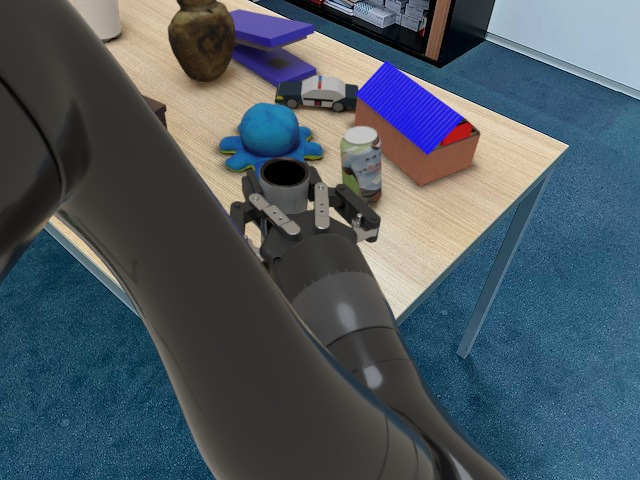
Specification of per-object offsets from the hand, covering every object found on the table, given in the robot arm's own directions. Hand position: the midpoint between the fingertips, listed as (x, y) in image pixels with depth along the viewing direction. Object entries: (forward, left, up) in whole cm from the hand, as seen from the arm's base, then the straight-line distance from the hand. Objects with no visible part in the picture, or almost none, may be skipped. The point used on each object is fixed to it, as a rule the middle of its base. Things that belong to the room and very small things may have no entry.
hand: (276, 173), depth 52 cm
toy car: (+47, +22, -24) cm, 57 cm away
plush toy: (+29, +21, -24) cm, 43 cm away
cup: (+42, +75, -24) cm, 89 cm away
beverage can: (+27, +3, -24) cm, 36 cm away
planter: (-2, -2, -8) cm, 9 cm away
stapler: (+56, +43, -24) cm, 74 cm away
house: (+45, +1, -24) cm, 51 cm away
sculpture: (+41, +45, -24) cm, 65 cm away
